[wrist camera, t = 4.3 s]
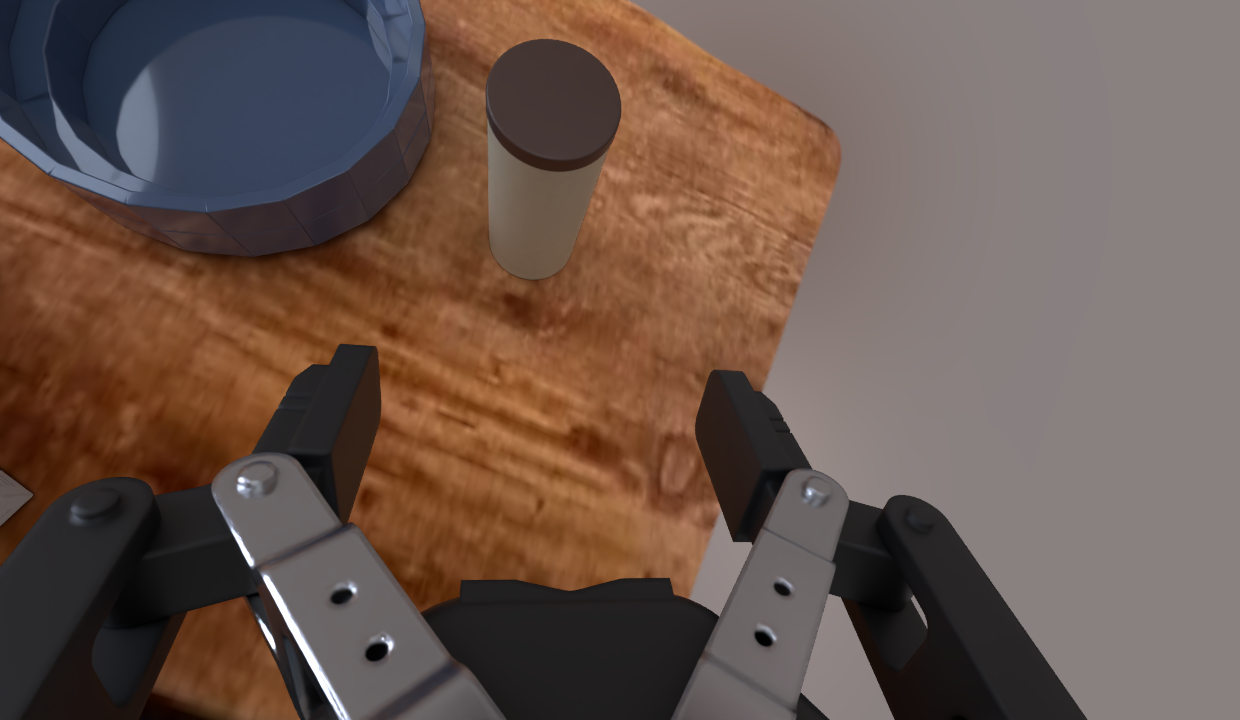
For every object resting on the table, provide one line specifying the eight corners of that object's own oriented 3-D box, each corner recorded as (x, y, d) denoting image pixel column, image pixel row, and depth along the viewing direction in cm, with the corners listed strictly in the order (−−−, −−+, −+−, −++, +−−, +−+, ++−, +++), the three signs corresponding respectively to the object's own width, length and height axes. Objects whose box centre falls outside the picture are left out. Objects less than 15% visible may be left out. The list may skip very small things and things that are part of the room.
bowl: (10, 241, 25) (-115, 180, 20) (91, -81, 29) (2, -205, 24) (420, 277, 29) (404, 233, 24) (448, -14, 32) (439, -109, 27)
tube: (485, 276, 30) (480, 150, 18) (490, 195, 31) (490, 26, 19) (572, 284, 31) (620, 168, 19) (575, 206, 32) (623, 50, 20)
